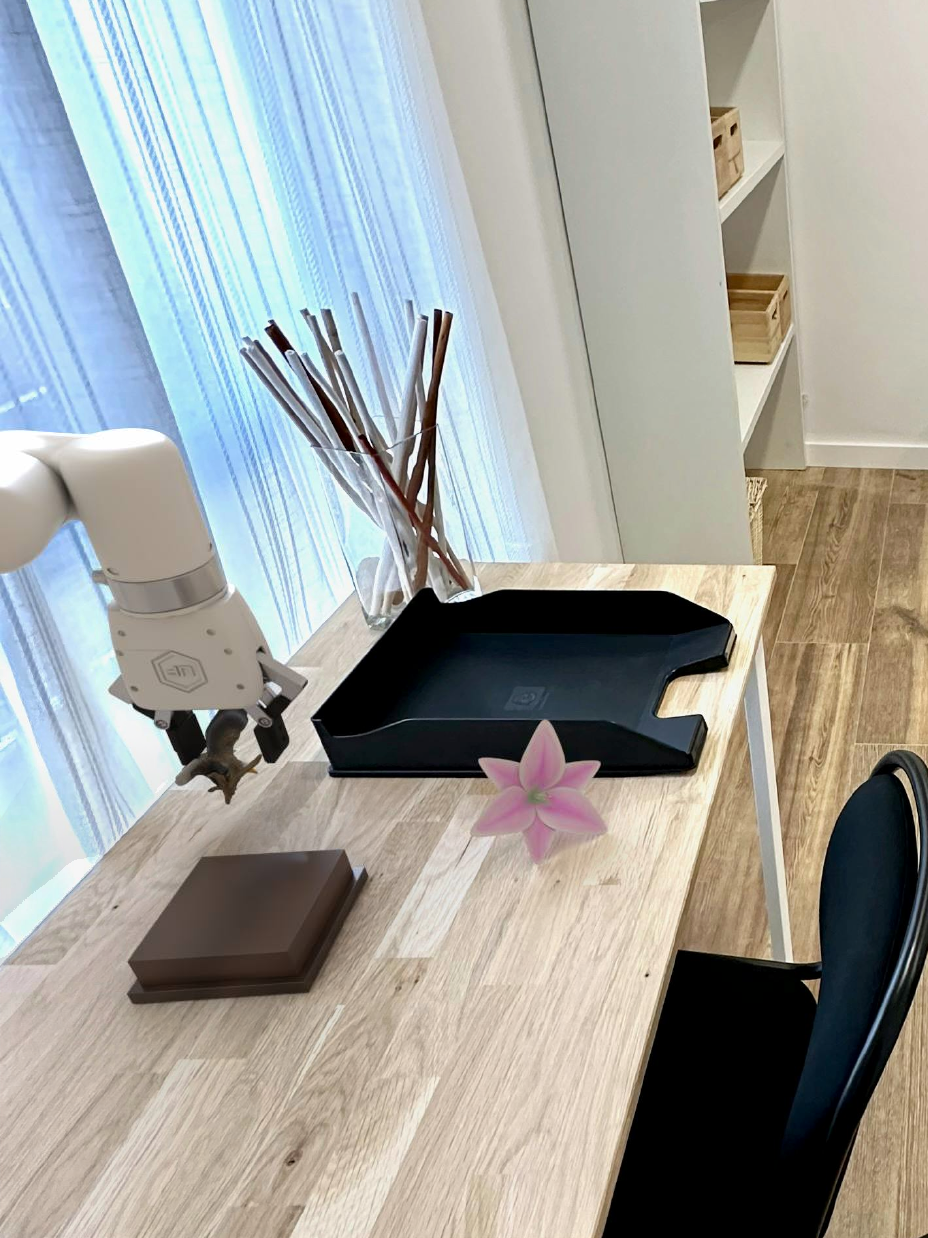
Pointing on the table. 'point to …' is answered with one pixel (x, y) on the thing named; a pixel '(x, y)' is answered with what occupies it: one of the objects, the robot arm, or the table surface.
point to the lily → (539, 795)
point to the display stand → (247, 927)
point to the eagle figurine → (221, 754)
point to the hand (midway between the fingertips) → (236, 753)
